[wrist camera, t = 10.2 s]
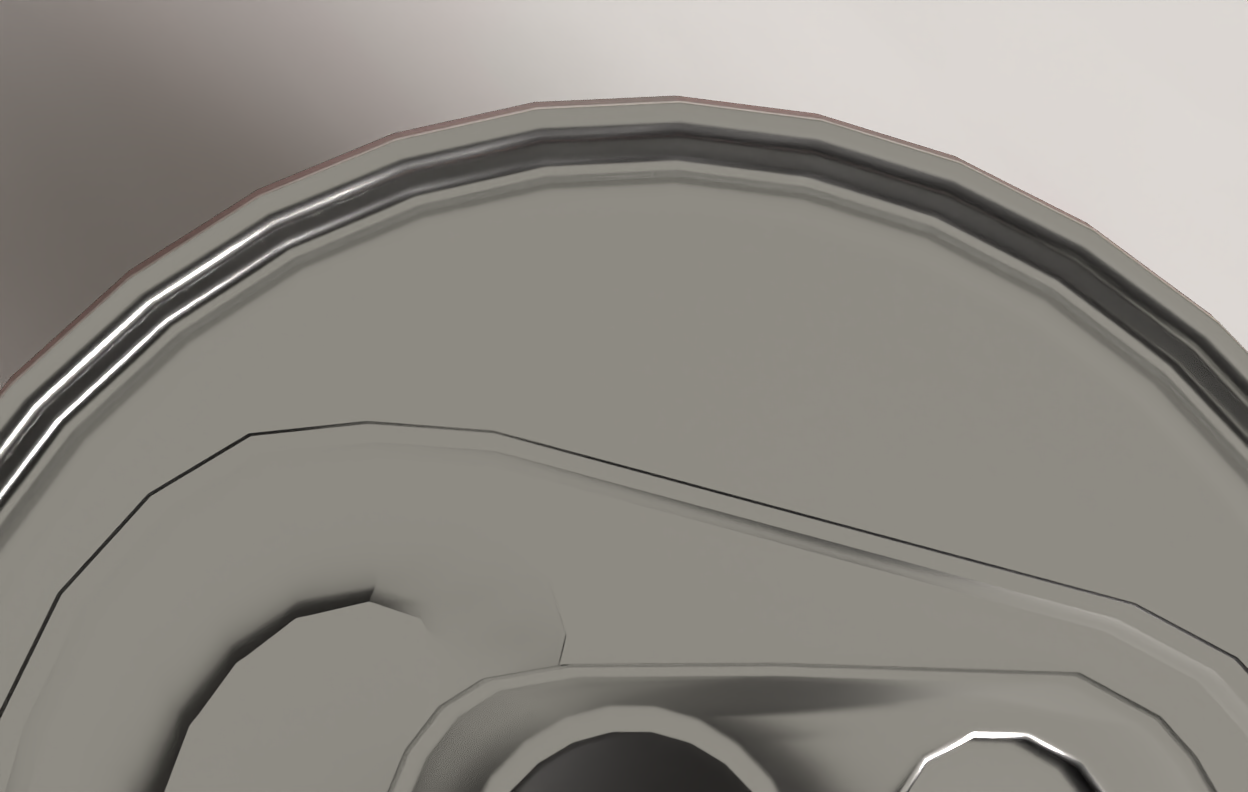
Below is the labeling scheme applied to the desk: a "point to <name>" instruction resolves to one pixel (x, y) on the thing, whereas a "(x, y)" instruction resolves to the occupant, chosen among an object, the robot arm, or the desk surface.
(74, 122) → the desk surface
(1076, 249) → the soda can
